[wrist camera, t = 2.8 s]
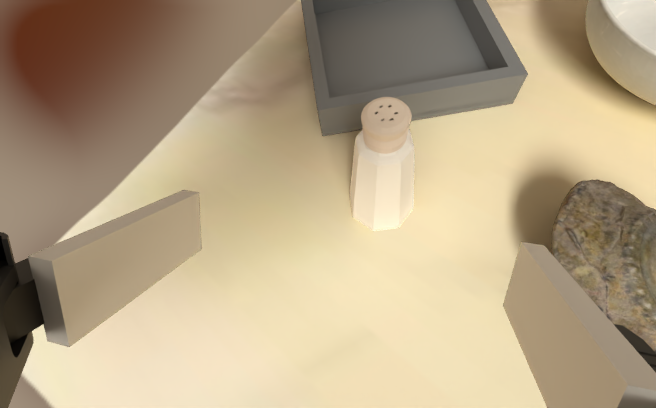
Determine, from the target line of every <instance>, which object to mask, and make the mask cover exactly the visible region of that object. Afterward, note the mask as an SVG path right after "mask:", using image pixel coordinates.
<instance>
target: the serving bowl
mask: <svg viewBox="0 0 656 408" xmlns="http://www.w3.org/2000/svg"><path fill="white" fill-rule="evenodd" d="M585 23H586V32H587V37H588V41H589V44H590V47H591V49H592V52H593V53H594V55H595V57H596V59H597V60H598V62H599V63H600V65H601V66H602V67H603V69H604V70H605V71H606V72H607V73H608V74H609V75H610V76H611V77H612V78H613V79H614V80H615V81H616V82H617V83H619V84H620V85H621V86H623V87H624V88H625V89H627V90H628V91H630V92H631V93H633V94H634V95H636V96H638V97H639V98H641V99H643V100H645V101H647V102H649V103H651V104H653V105H655V106H656V0H588V3H587V9H586V21H585Z"/></svg>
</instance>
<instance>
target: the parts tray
mask: <svg viewBox="0 0 656 408" xmlns="http://www.w3.org/2000/svg"><path fill="white" fill-rule="evenodd" d="M301 3H302V10H303V16H304V23H305V30H306V37H307V43H308V50H309V57H310V63H311V70H312V77H313V83H314V90H315V97H316V103H317V110H318V115H319V121H320V126H321V131H322V136H326V135H332V134H338V133H344V132H350V131H355V130H361V129H363V128H362V126H363V125H362V121H361V113H362V111H363V109H364V107H365V106H366V105H367V104H368V103H369V102H371V101H373V100H374V99H377V98H381V97H393V98H397V99H399V100H401V101H403V102H404V103H405V104H406V105H407V106H408V107H409V109H410V111H411V115H412V116H411V121H414V120H419V119H425V118H431V117H437V116H443V115H449V114H454V113H460V112H466V111H472V110H478V109H484V108H489V107H495V106H501V105H507V104H513V102H514V100H515V98H516V96H517V94H518V92H519V90H520V88H521V86H522V84H523V82H524V81H525V79H526V77H527V75H528V73H527V71H526V70H525V68H524V66H523V64H522V63H521V61H520V59H519V57H518V56H517V54H516V52H515V50H514V48H513V47H512V45H511V43H510V41H509V40H508V38H507V36H506V34H505V33H504V31H503V29H502V27H501V26H500V24H499V22H498V20H497V18H496V17H495V15H494V13H493V11H492V10H491V8H490V6H489V4H488V3H487V1H486V0H301Z"/></svg>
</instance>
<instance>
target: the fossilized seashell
mask: <svg viewBox="0 0 656 408" xmlns="http://www.w3.org/2000/svg"><path fill="white" fill-rule="evenodd" d="M552 255H553V256H554V257H555V258H556V260H557V261H558V262H559V263H560V264H561V265H562V266H563V268H564V269H565V270H566V271H567V272H568V273H569V274H570V275H571V277H572V278H573V279H574V280H575V281H576V282H577V283H578V285H579V286H580V287H581V288H582V289H583V290H584V291H585V293H586V294H587V295H588V296H589V297H590V298H591V299H592V301H593V302H594V303H595V304H596V305H597V306H598V307H599V309H600V310H601V311H602V312H603V313H604V314H605V315H606V316H607V318H608V319H609V320H610V321H611V322H612V323H613V324H618V325H623V326H624V327H626V328H627V329H629V330H630V331H632V332H633V333H635V334H636V335H637V336H639V337H640V338H642V339H643V340H644V341H645V342H646V343H647V344H648V345H649V346H650V347H651V348H652V349H653V350H654V351H655V352H656V210H655V209H653V208H650V207H647V206H645V205H644V204H643V203H642V202H641V201H640V200H639V199H637V198H636V197H635V196H634V195H632V194H631V193H629V192H627V191H625V190H623V189H621V188H618V187H617V186H615V185H614V184H613V183H611V182H604V181H600V180H589V181H581V182H579V183H577V184H576V185H575V187H574V188H572V189H571V190H570V191H569V193H568V194H567V196H566V197H565V199H564V201H563V203H562V205H561V207H560V210H559V213H558V215H557V218H556V221H555V223H554V225H553V229H552Z"/></svg>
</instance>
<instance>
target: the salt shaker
mask: <svg viewBox="0 0 656 408" xmlns="http://www.w3.org/2000/svg"><path fill="white" fill-rule="evenodd" d="M411 116H412V115H411V111H410V109H409V107H408V106H407V105H406V104H405V103H404V102H403V101H401V100H399V99H397V98H393V97H381V98H377V99H374V100H373V101H371V102H369V103H368V104H367V105H366V106H365V107H364V109H363V111H362V113H361V121H362V125H363V126H362V128H363V129H362V131H361V132H360V133H359V134H358V135H357V136H356V139H355V145H354V155H353V165H352V175H351V185H350V202H351V209H352V216H353V218H355V219H356V220H358V221H359V222H360V223H362V224H363V225H365V226H366V227H368V228H369V229H371V230H372V231H378V230H386V229H394V228H399V227H400V226H401V224H402V223H403V222H404V221H405V219H406V218H407V217H408V215H409V214H410V213H411V212H412V210H413V208H414V160H415V153H414V144H413V140H412V137H411V133H410V129H409V125H410V123H411Z"/></svg>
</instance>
